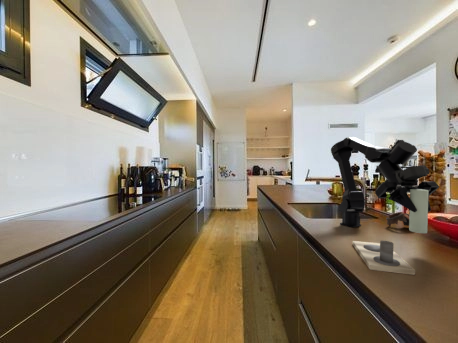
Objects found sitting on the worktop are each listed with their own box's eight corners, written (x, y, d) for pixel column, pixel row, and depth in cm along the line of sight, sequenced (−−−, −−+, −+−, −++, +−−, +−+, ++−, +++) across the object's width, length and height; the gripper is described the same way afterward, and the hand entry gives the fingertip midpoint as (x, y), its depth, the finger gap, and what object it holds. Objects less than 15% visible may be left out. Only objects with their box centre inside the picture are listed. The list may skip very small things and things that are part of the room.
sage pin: (406, 230, 73) (407, 189, 72) (413, 228, 75) (414, 188, 74) (423, 234, 69) (424, 191, 69) (429, 232, 71) (431, 190, 71)
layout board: (352, 244, 80) (352, 226, 79) (385, 247, 77) (386, 228, 76) (369, 269, 60) (370, 245, 60) (415, 274, 58) (415, 249, 57)
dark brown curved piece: (414, 234, 92) (401, 216, 94) (391, 239, 100) (379, 221, 102) (423, 222, 99) (411, 205, 101) (400, 227, 107) (390, 211, 109)
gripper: (382, 157, 74) (412, 195, 63) (434, 157, 76) (471, 194, 66) (364, 179, 82) (389, 217, 72) (412, 179, 84) (442, 216, 74)
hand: (422, 211), depth 70 cm, fingers closed on sage pin, 4 cm apart
